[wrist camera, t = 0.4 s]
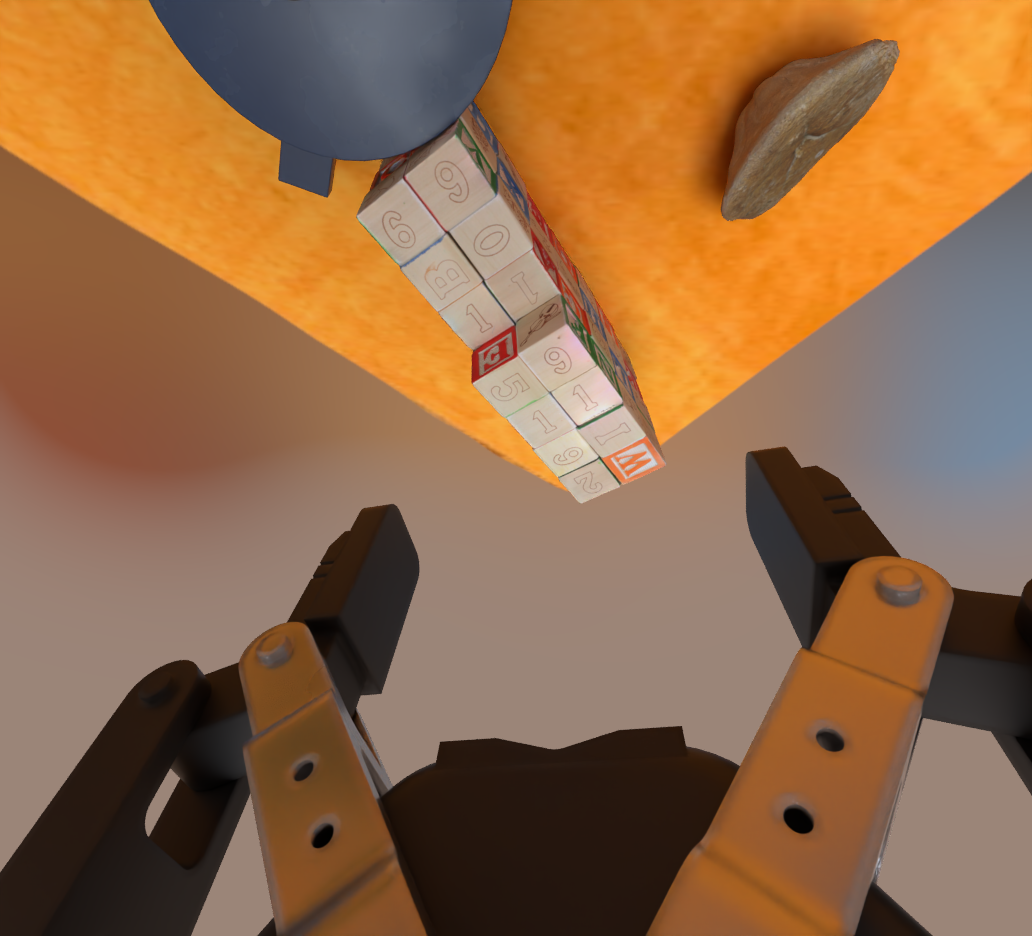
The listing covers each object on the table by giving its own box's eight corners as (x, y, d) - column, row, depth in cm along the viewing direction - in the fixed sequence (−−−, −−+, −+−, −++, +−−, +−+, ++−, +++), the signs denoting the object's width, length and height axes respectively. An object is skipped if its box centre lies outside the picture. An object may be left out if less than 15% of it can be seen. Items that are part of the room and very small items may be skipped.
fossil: (707, 234, 30) (871, 35, 22) (658, 180, 31) (800, -29, 23) (775, 222, 36) (927, 58, 28) (732, 176, 36) (867, 5, 29)
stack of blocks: (380, 155, 32) (339, 240, 23) (465, 84, 30) (455, 148, 21) (562, 395, 45) (580, 508, 36) (632, 358, 43) (668, 469, 34)
